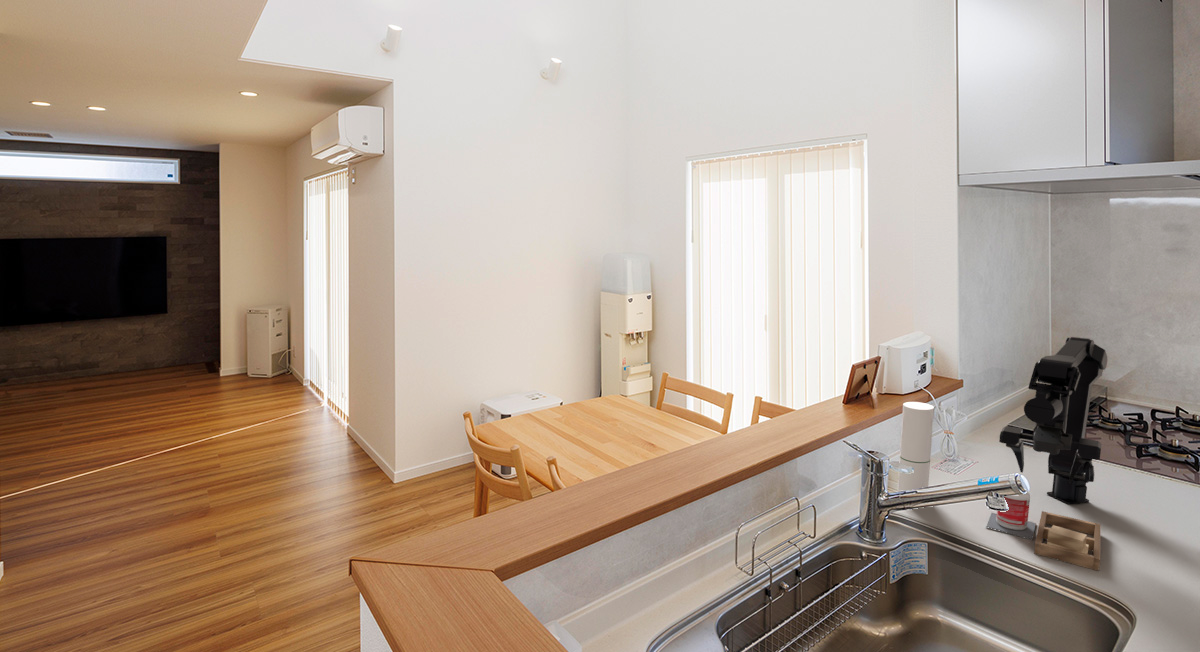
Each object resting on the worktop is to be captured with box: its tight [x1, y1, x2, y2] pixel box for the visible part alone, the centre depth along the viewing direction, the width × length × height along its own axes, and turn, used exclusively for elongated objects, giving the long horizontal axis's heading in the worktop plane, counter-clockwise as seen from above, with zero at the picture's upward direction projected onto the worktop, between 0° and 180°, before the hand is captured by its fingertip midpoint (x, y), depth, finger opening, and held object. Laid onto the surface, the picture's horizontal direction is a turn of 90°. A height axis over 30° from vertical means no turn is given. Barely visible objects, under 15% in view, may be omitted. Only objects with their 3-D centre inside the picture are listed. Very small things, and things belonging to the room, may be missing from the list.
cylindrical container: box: [897, 401, 935, 492], centre depth 160 cm, size 7×7×25 cm
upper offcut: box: [1046, 525, 1088, 552], centre depth 133 cm, size 6×4×2 cm, turn 42°
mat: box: [985, 512, 1037, 540], centre depth 145 cm, size 9×9×1 cm
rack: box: [1033, 510, 1102, 572], centre depth 137 cm, size 11×19×2 cm, turn 141°
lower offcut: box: [1046, 541, 1089, 555], centre depth 133 cm, size 7×5×2 cm
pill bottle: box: [996, 491, 1031, 530], centre depth 144 cm, size 6×6×11 cm
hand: (1045, 476), depth 143 cm, fingers open, 9 cm apart
